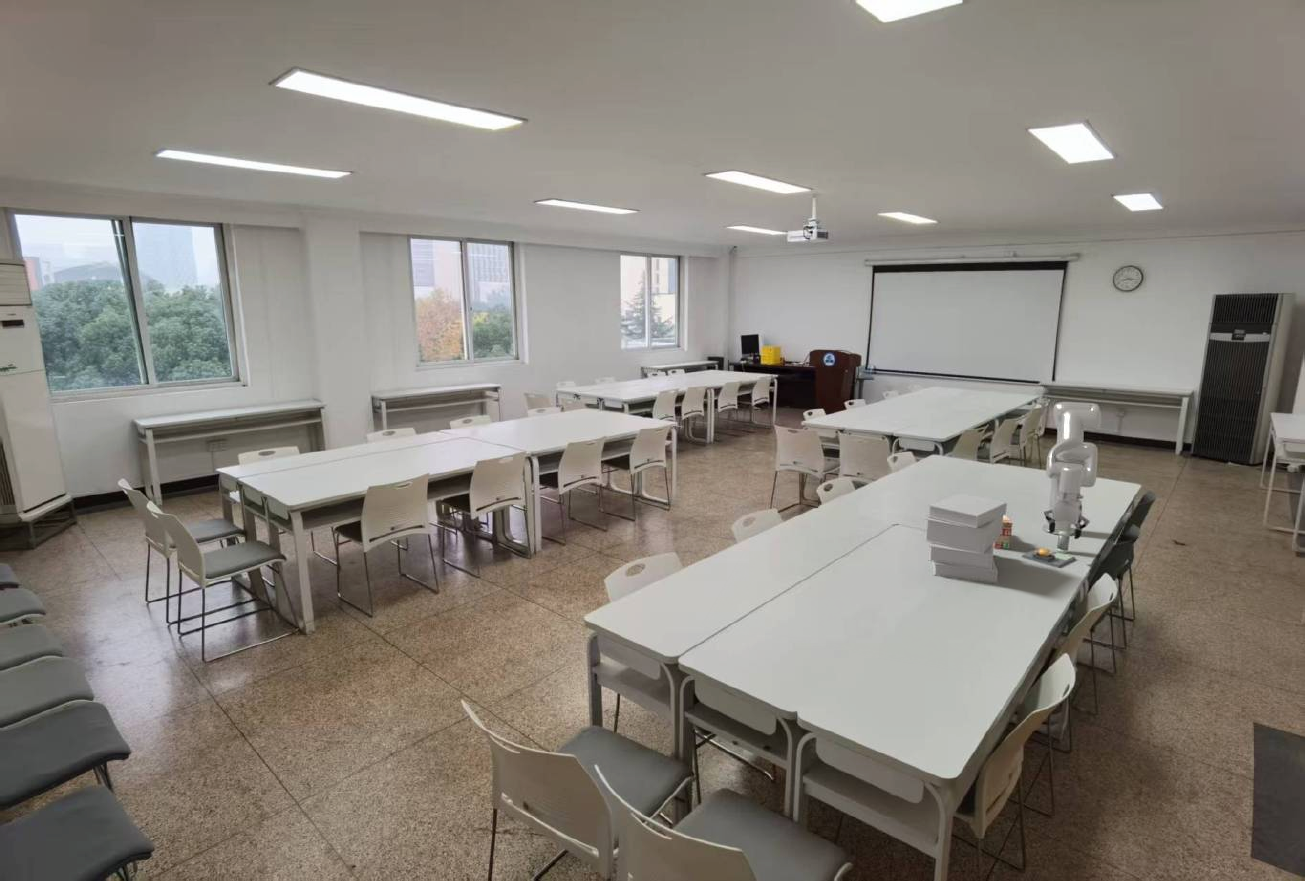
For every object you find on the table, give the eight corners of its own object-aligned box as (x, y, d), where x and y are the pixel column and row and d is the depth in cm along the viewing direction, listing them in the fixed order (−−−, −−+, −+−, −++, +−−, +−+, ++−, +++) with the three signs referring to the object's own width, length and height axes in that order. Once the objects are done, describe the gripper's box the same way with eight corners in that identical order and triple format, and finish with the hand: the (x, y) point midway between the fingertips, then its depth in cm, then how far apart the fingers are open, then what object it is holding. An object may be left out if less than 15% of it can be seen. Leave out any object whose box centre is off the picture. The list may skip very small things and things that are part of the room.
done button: (1041, 552, 270) (1041, 548, 269) (1050, 555, 267) (1051, 550, 266) (1037, 554, 268) (1037, 550, 267) (1046, 557, 265) (1047, 552, 264)
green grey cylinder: (1059, 549, 280) (1061, 529, 278) (1069, 552, 277) (1071, 531, 275) (1054, 551, 278) (1057, 531, 276) (1065, 554, 275) (1067, 533, 273)
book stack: (996, 553, 276) (1002, 495, 271) (1009, 586, 244) (1016, 520, 239) (920, 545, 286) (924, 488, 281) (922, 575, 254) (927, 512, 249)
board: (1039, 549, 280) (1039, 544, 280) (1075, 559, 269) (1075, 553, 268) (1022, 557, 272) (1022, 551, 271) (1058, 567, 260) (1059, 561, 260)
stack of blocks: (979, 532, 303) (982, 506, 300) (994, 533, 301) (996, 507, 299) (994, 548, 282) (996, 521, 280) (1010, 549, 281) (1012, 522, 278)
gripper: (1095, 499, 268) (1091, 539, 270) (1050, 490, 281) (1046, 528, 284) (1088, 501, 263) (1083, 542, 266) (1042, 492, 277) (1038, 531, 280)
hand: (1064, 535), depth 275 cm, fingers open, 9 cm apart
